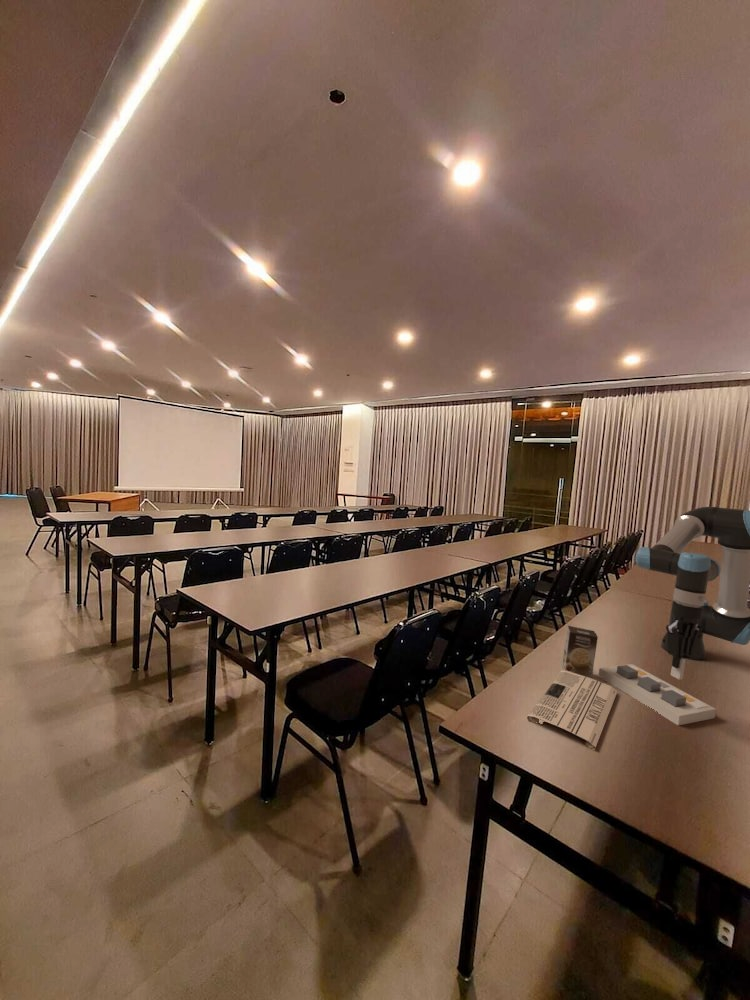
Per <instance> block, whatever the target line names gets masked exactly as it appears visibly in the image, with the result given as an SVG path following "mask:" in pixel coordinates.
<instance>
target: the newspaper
mask: <svg viewBox="0 0 750 1000" xmlns="http://www.w3.org/2000/svg"><path fill="white" fill-rule="evenodd" d="M617 694H618V690H616V688H614V687H613V686H612V685H608V684H606V683H604V682H601V681H599V680H596V679H594V678H593V677H592V678H589V677H585V676H582V675H579V674H576V673H573V672H570V671H566V670H563V669H561V670H560V671H559V673H558V674H557V676H556V677H555V678H554V680H552V683H550V685H549V687H547V689H546V690H545V692H544V693H543V695H542V696H541V697H540V699H539V700H538V701H537V703H536V704H535V705H534V707H533V708H532V709H531V711H530V712H529V713H528V714H527V717H526V720H527V721H528V722H530V721H531V722H532V723H534V722H537V723H539V719H540V720H543V721H545V723H549V724H551V725H553V726H556V727H558V728H561V729H563V730H565V731H567V732H569V733H572V734H573V735H575V736H577V737H579V738H580V739H583V740H585V746H587V747H588V748H589V749H591V750H593V751H595V750H596V747H597V746H598V743H599V740H600V738H601V734H602V733H603V730H604V727H605V725H606V722H607V719H608V718H609V714H610V712H611V710H612V707H613V704H614V702H615V699H616V697H617ZM529 720H530V721H529ZM537 723H536V724H537Z"/></svg>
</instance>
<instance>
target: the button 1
mask: <svg viewBox="0 0 750 1000" xmlns="http://www.w3.org/2000/svg"><path fill="white" fill-rule="evenodd" d="M622 665H623V666H619V665H616V666H617V673H618V674H619V675H621V676H623V677H625V678H626V679H635V678H637V676H638V671H637V670H635V669H633V668H631V667H629V666H628V665H627V664H622Z"/></svg>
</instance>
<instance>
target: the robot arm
mask: <svg viewBox="0 0 750 1000" xmlns="http://www.w3.org/2000/svg"><path fill="white" fill-rule="evenodd" d="M673 524H674V525H673V526H672V527H671V528H670V530H668V531H666V533H665V534H664V535H663V536H662V537H661V538H660V539H659V540H658V541H657V542H656V543H655V544H654V545H653V546H652V547H649V546H640V547H639V548H638V549H637V551H636V555H635V563H636V566H637V567H639V568H642V569H645V570H647V571H653V572H658V573H662V574H666V575H667V574H668V575H670V576H671V575H672V576H676V578H675V585H674V590H673V596H672V599H673V601H672V603H671V606H670V609H671V610H670V616H669V622H668V624H667V625H666V626H665V629H666V633H665V635H664V636H663V638H662V639H661V642H660V643H661V644H660V647H661V648H662V649H663V650H664V651H667V654H669V655H671V656H672V661H671V671H670V676H671V677H673V678H676V679H677V680H683V679H684V672H685V667H686V660H698V661H699V660H705V659H706V655H707V654H706V653H707V651H706V648H705V643H704V639H703V638H704V637H703V636H704V634H705V635H708V636H711V637H714V638H718V639H720V640H725V641H727V642H730V643H733V644H737V645H741V646H745V645H748V644H749V643H750V608H749V607H748V602H749V592H750V510H749V509H738V508H728V507H719V506H718V507H717V506H702V507H698V508H697V507H696V508H694V509H691V510H688V511H686V512H684V513H682V514H681V515H679V516H678V517H677V518H676V519H675V521H674V523H673ZM701 536H702V537H710V538H717V545H719V547H721V559H720V560H721V561H720V564H719V562H717V560H715V559H714V558H711V557H710V556H709V555H706V554H701V553H695V552H689V551H688V552H683V551H684V550H685V549H686V548H688V546H689V544H691V543H692V541H693V540H694V539H697V538H699V537H701ZM718 577H719V584H718V596H717V599H718V600H717V602H714V603H713V604H712V606H711V605H709V602H708V601H707V600H706V593H707V586H708V582H712V581H714V580H716V579H717V578H718Z"/></svg>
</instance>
